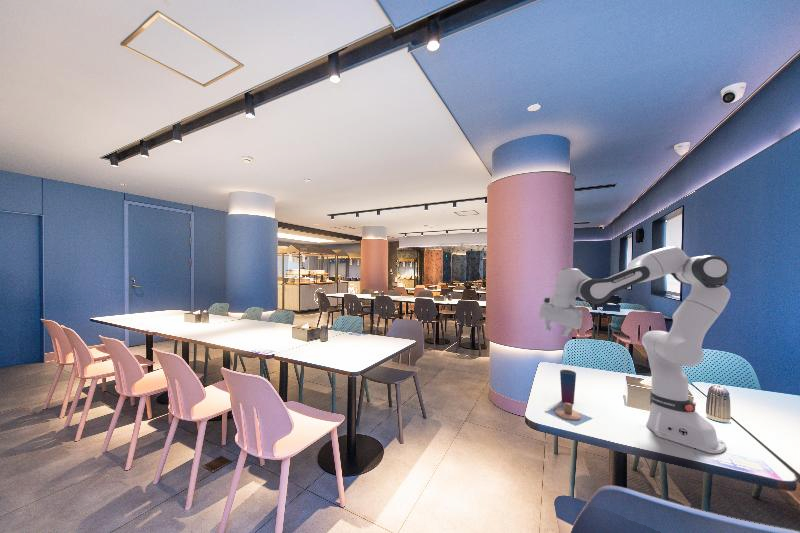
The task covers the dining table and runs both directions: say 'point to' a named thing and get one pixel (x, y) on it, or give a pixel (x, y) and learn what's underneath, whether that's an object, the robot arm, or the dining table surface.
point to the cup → (567, 385)
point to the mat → (577, 422)
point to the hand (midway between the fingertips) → (556, 333)
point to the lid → (568, 412)
